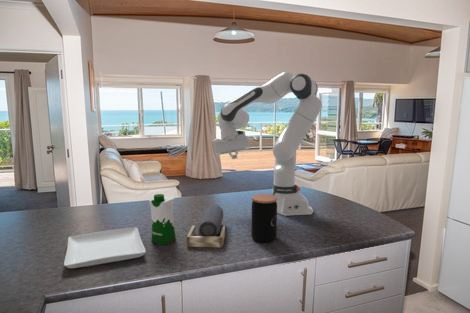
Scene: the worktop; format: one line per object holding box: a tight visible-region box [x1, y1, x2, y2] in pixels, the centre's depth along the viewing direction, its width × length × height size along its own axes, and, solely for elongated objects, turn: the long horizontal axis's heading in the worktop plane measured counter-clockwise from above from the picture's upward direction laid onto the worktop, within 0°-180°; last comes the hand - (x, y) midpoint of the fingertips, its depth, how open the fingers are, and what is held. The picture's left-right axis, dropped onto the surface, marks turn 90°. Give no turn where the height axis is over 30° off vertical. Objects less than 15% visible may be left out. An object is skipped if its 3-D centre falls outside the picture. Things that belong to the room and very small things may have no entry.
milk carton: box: [148, 193, 176, 246], centre depth 135 cm, size 9×9×20 cm
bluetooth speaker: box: [198, 204, 224, 237], centre depth 144 cm, size 23×9×10 cm, turn 177°
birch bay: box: [186, 225, 226, 248], centre depth 136 cm, size 14×13×4 cm
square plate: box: [63, 226, 147, 269], centre depth 126 cm, size 27×27×4 cm
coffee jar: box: [251, 193, 278, 244], centre depth 137 cm, size 11×11×18 cm
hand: (234, 158), depth 177 cm, fingers closed
